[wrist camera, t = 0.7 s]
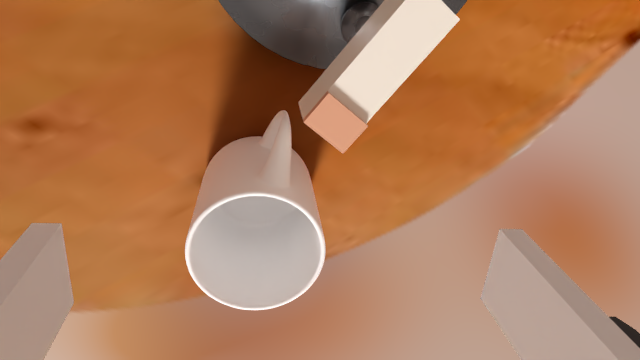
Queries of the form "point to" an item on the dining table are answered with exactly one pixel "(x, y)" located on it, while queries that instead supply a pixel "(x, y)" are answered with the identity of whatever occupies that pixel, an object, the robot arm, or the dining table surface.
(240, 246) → the mug
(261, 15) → the base
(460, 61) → the dining table surface
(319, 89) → the handle
